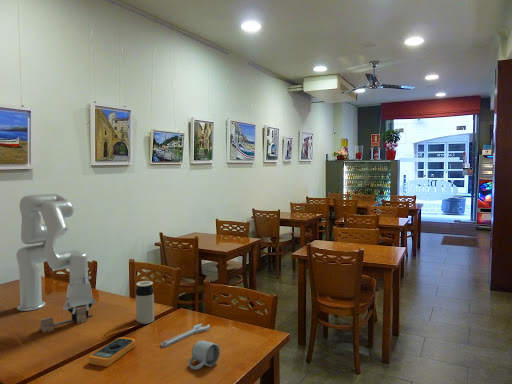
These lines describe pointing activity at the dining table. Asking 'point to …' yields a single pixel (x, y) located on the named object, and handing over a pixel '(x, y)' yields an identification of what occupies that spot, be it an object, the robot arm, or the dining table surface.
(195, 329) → the adjustable wrench
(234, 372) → the dining table surface
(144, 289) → the travel mug
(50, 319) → the bar clamp
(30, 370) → the dining table surface
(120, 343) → the multimeter
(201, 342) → the ceramic mug
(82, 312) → the block
